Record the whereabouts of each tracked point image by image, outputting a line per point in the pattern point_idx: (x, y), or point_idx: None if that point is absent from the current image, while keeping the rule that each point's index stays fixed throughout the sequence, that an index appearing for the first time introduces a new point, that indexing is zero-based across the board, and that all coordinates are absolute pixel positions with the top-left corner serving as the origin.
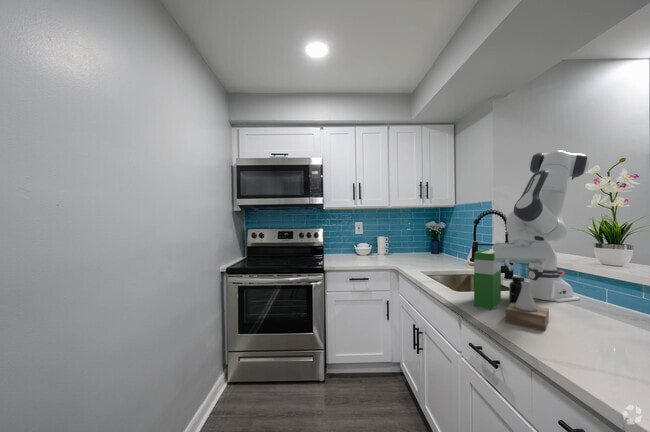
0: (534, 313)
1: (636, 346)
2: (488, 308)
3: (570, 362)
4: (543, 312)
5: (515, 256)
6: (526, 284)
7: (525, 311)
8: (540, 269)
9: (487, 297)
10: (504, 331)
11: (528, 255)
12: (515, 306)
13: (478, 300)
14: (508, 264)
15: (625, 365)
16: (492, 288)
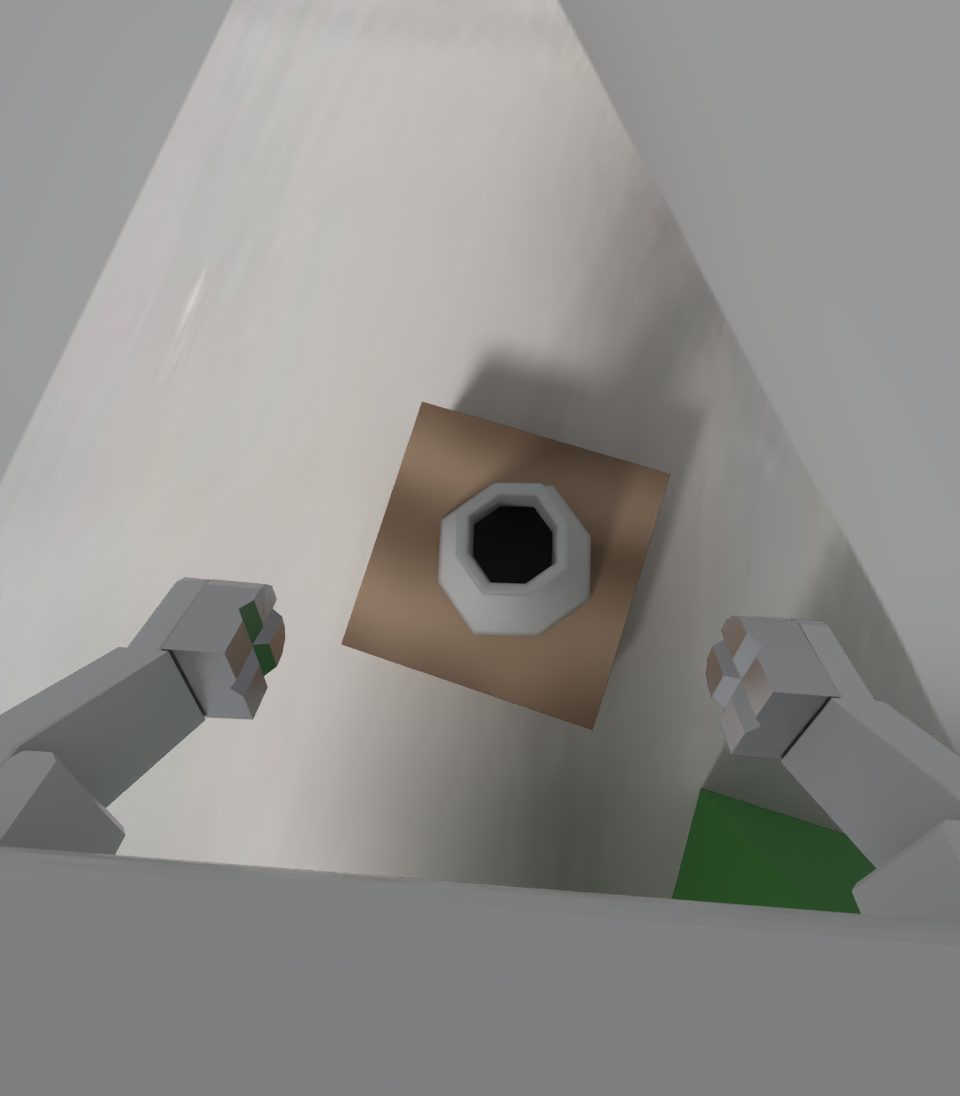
0: (477, 452)
1: (71, 393)
2: (734, 800)
3: (439, 44)
4: (407, 512)
5: (841, 990)
6: (516, 486)
7: (531, 478)
8: (231, 583)
9: (790, 846)
10: (669, 315)
11: (278, 1038)
12: (589, 557)
13: (846, 850)
14: (888, 713)
15: (230, 122)
16: (799, 889)
